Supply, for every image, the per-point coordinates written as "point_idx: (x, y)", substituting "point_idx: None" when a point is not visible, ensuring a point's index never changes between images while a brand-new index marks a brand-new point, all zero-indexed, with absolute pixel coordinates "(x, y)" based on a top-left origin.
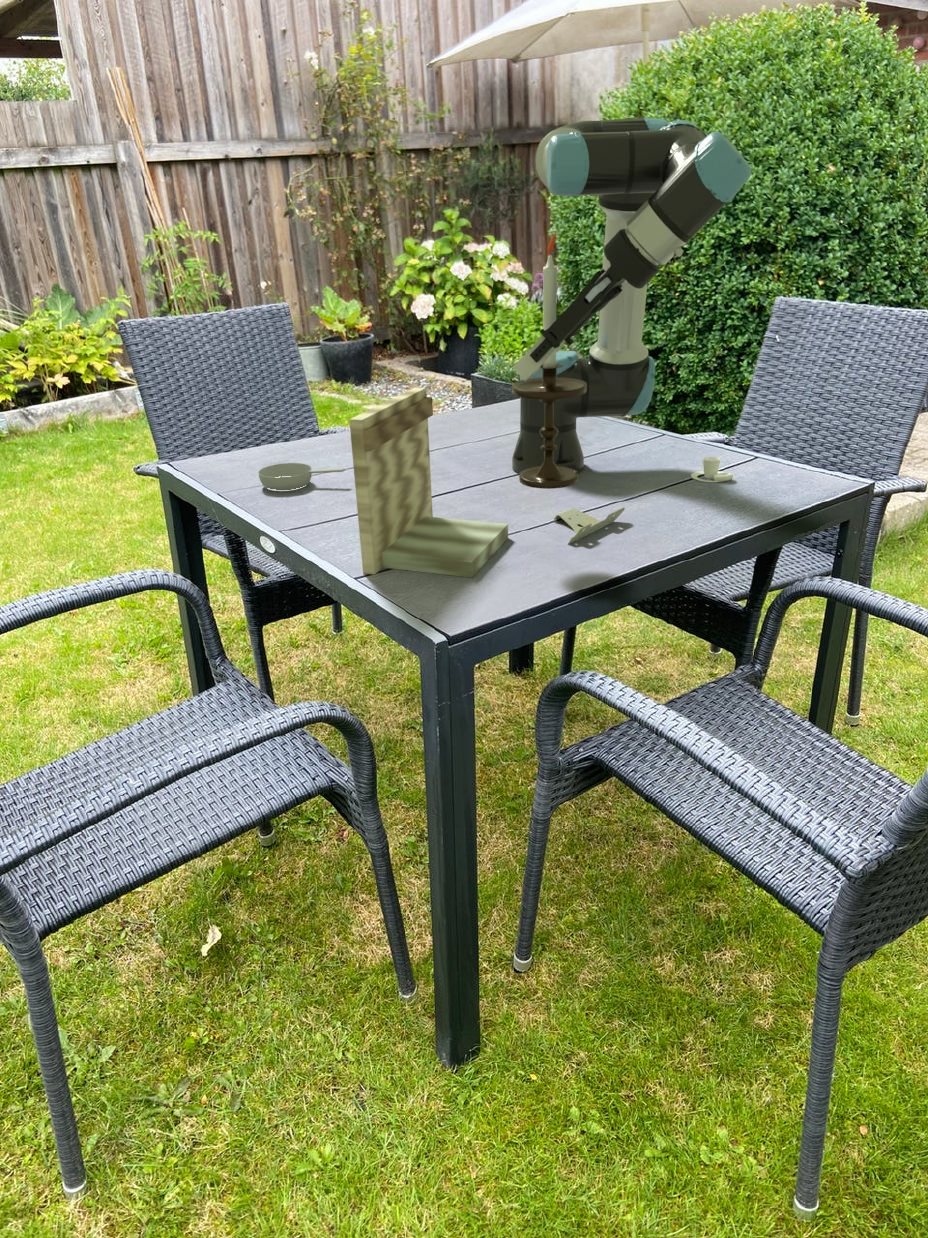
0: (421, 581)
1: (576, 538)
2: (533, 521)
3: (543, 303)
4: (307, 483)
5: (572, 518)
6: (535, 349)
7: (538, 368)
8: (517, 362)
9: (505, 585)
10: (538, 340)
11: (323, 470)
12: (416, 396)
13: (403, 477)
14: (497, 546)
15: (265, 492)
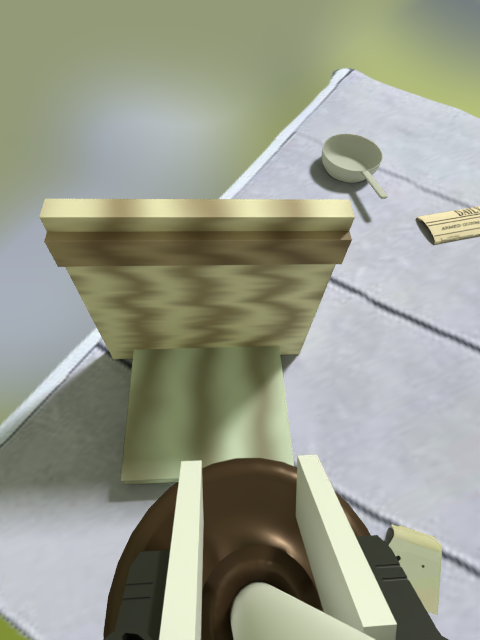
0: (101, 422)
1: None
2: (375, 489)
3: (275, 633)
4: (355, 181)
5: (402, 562)
6: (123, 594)
7: (303, 536)
8: (180, 479)
9: (105, 548)
10: (164, 599)
11: (370, 181)
12: (300, 223)
13: (213, 305)
14: None
15: (318, 161)
